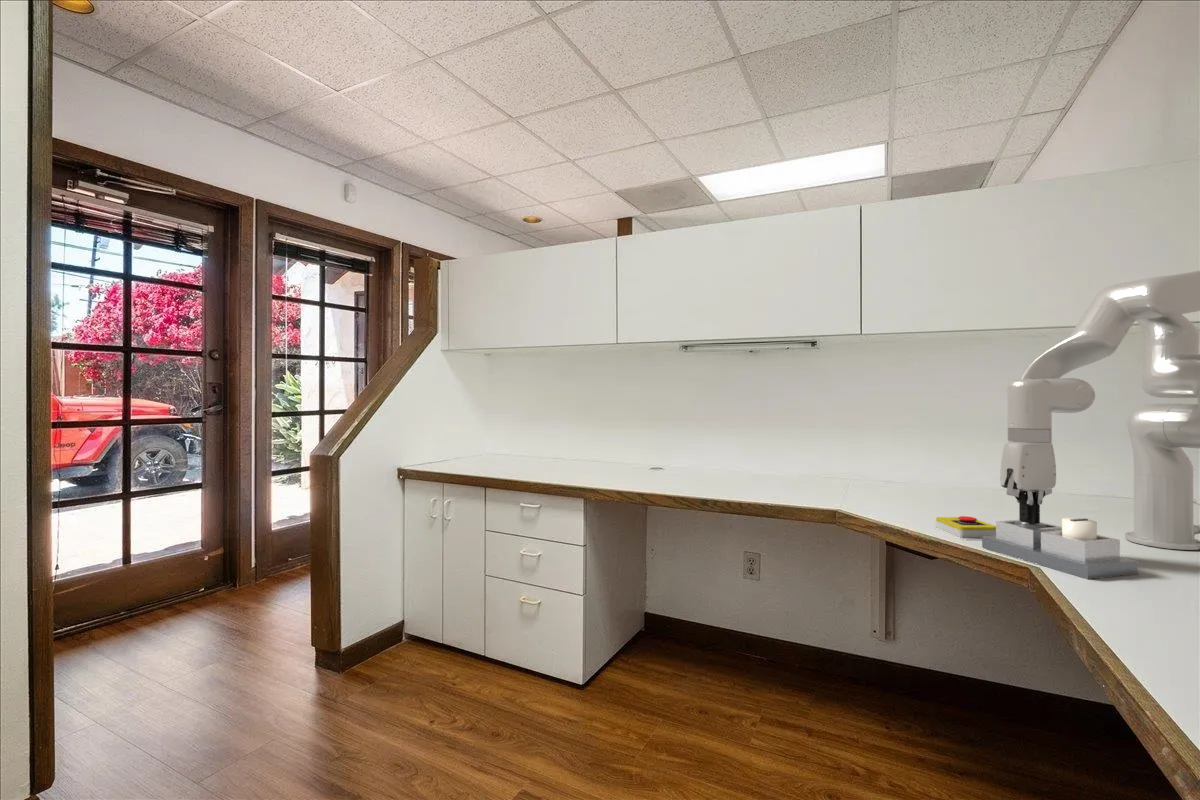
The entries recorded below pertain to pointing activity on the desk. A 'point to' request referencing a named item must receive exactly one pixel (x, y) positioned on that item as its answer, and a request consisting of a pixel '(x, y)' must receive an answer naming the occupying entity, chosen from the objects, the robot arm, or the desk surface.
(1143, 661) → the desk surface
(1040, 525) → the knob black
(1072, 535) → the knob ivory
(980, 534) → the emergency button
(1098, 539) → the mount
